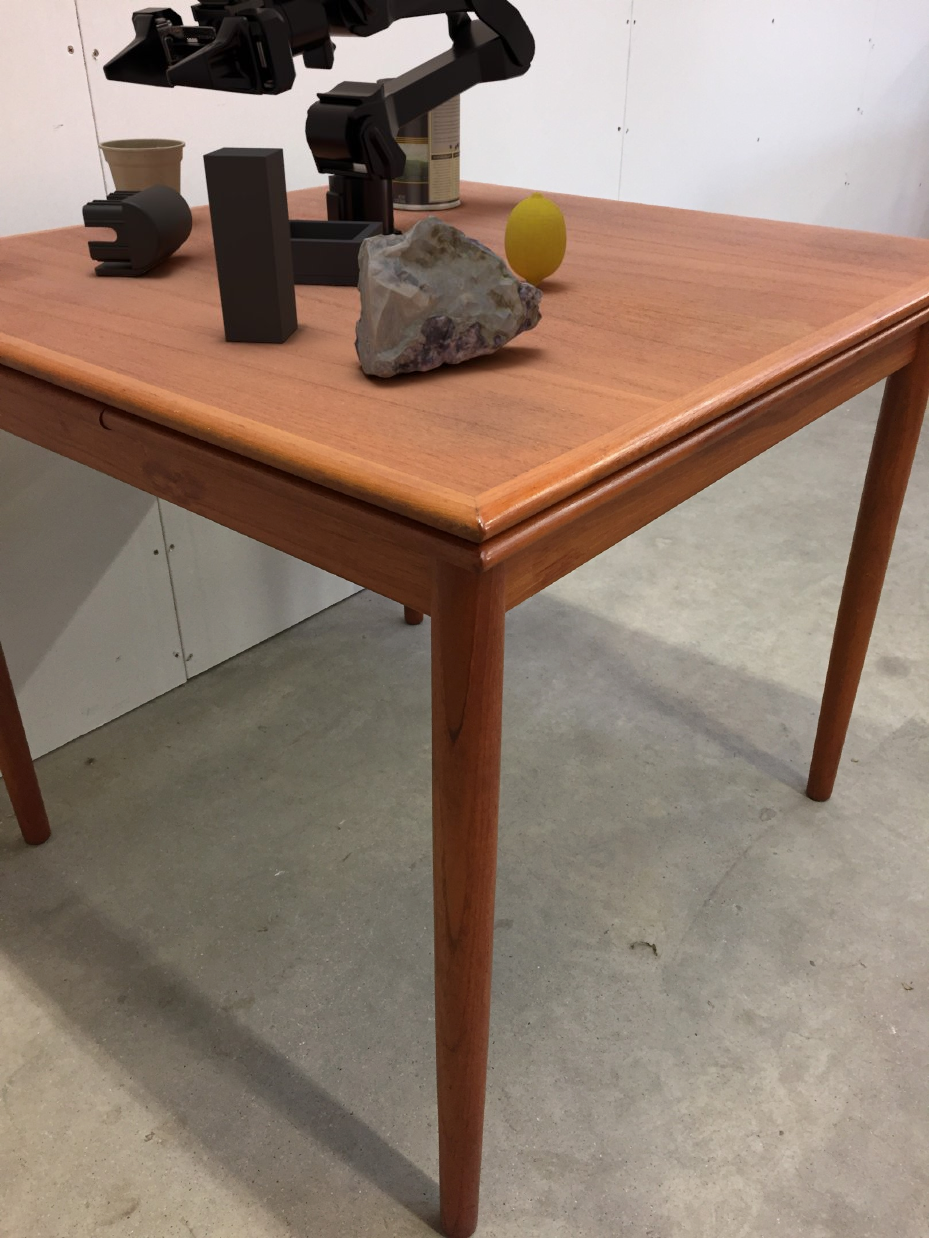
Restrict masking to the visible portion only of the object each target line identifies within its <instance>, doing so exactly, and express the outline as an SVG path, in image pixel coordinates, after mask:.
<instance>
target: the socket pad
mask: <svg viewBox="0 0 929 1238" xmlns="http://www.w3.org/2000/svg"><path fill="white" fill-rule="evenodd" d="M289 227H290V239H291V251H292V262H293V274H294V285H319V286H321V285H322V286H346V287H349V286H350V287H357V286H358V282H359V273H360V269H359V263H358V256H359V251H360V247H361V245H362V242H363V240H364V239H366V238H370V237H374V236H377V235H383V223H382V222H359V221H328V220H323V219H322V220H320V219H318V220H317V219H289Z"/></svg>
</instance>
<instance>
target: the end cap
mask: <svg viewBox="0 0 929 1238" xmlns="http://www.w3.org/2000/svg"><path fill="white" fill-rule="evenodd" d="M105 198H106V199H93V200H92V201H87V202H86V204H84V205H82V209H81V213H82V219H83V225H84V228H110V229H112V230H113V231H114V232H115V234H116V238H115V240H111V241H109V240H103V241H102V240H88V241H87V245H88V252H89V256H90V259H91V260H92V261H97V262H98V263H100V264H98V265H97V266H95V267H94V273H95V275H96V276H100V277H101V276H103V277H137V276H141V275H143V274H145V273H146V272H148V271H150V270H151V269H152V268H154V267H155V266H157V265H158V264H160V263H162V262H163V261H164V260H166V259H168V258H169V257H171V256H172V255H174V254H175V253H176V252H177V251H178V250H179V249H180V248H181V247H182V245H183V244H184V243H186V241H187V240H188V239H189V237H190V236H191V233H192V230H193V224H194V223H193V215H192V210H191V208H190V205H189V204H188V202H187V200H186V199H185V198H184V196H183V195H182V193H181V194H180V193H178V192H177V191H176V190H174V189H173V188H171V187H168V186H165V185H160V184H157V185H155V186H152V187H150V188H148V189H146V190H143V191H117V190H116V189H115V190H114V191H113V192H109V194H107V195H105Z"/></svg>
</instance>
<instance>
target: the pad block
mask: <svg viewBox="0 0 929 1238" xmlns="http://www.w3.org/2000/svg"><path fill="white" fill-rule="evenodd" d="M284 158H285V157H284V148H282V147H281V148H280V147H235V146H234V147H233V146H231V147H229V146H227V147H226V146H224V147H221V148H219V149H215V150H213V151H211V152H208V153H205V154H203V155H202V159H203V168H204V175H205V183H206V190H207V192H206V193H207V200H208V207H209V216H210V225H211V232H212V241H213V249H214V256H215V264H216V273H217V282H218V290H219V296H220V297H219V298H220V305H221V313H222V323H223V330H224V338H225V339H224V340H225V341H226V342H243V343H244V342H246V343H247V342H248V343H269V344H270V343H271V344H272V343H275V344H283V343H284V342H285V341H286V340H287V339H288V338H289V337H290V336H291V335H292V334H293V332H295V331H296V330H297V329H298V327H299V324H298V309H297V300H296V287H295V286H296V285H295V284H294V274H293V262H292V251H291V239H290V227H289V220H290V216H289V204H288V203H289V202H288V193H287V192H288V191H287V182H286V181H287V180H286V169H285V168H286V167H285V159H284Z"/></svg>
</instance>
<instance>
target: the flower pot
mask: <svg viewBox="0 0 929 1238" xmlns="http://www.w3.org/2000/svg"><path fill="white" fill-rule="evenodd" d="M97 147H98V149H100V150H101V151H102V154H103V158H104V161H105V162H106V163H107V164H108V167H109V170H110V174H111V178H112V181H113V185H114V188H115V191H116V190H117V191H143V190H146V189H148V188H150V187H152V186H155V185H157V184H160V185H165V186H168V187H171V188H173V189H174V190H176V191H177V192H178V193H180V194H181V195H182V192H181V191H182V190H181V188H182V187H181V183H182V182H181V180H182V179H181V178H182V177H181V174H182V173H181V170H182V169H181V168H182V167H181V166H182V161H183V157H184V154H183V153H184V148H185V147H186V142H185V141H183V140H179V139H172V138H168V139H167V138H155V137H154V138H151V137H150V138H123V139H113V140H111V139H110V140H106V141H102V142H99V143H98V144H97Z"/></svg>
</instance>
